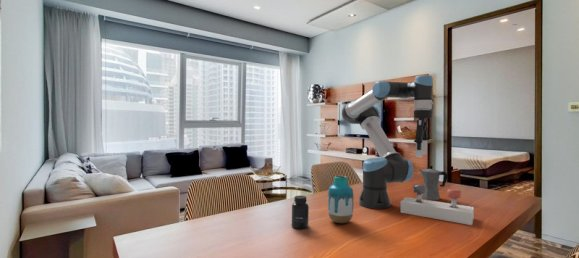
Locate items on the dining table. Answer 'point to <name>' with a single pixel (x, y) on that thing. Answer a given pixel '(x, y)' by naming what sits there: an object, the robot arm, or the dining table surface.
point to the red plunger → (454, 196)
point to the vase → (340, 200)
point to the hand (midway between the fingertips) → (421, 155)
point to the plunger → (419, 191)
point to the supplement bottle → (300, 213)
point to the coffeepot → (432, 183)
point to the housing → (438, 210)
